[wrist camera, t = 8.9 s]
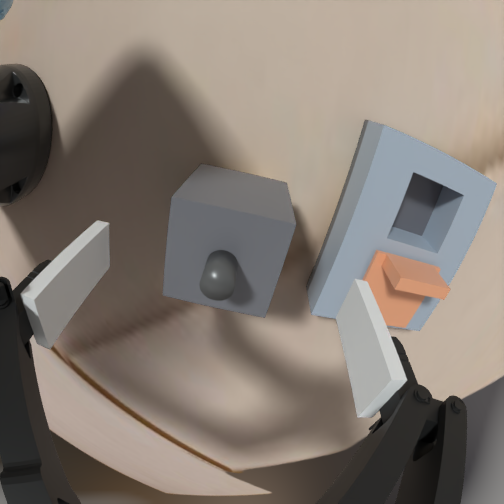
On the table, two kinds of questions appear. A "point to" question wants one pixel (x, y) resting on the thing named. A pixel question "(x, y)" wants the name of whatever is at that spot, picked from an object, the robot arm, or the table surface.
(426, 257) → the socket
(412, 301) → the shutter
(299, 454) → the table surface
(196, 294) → the plug
